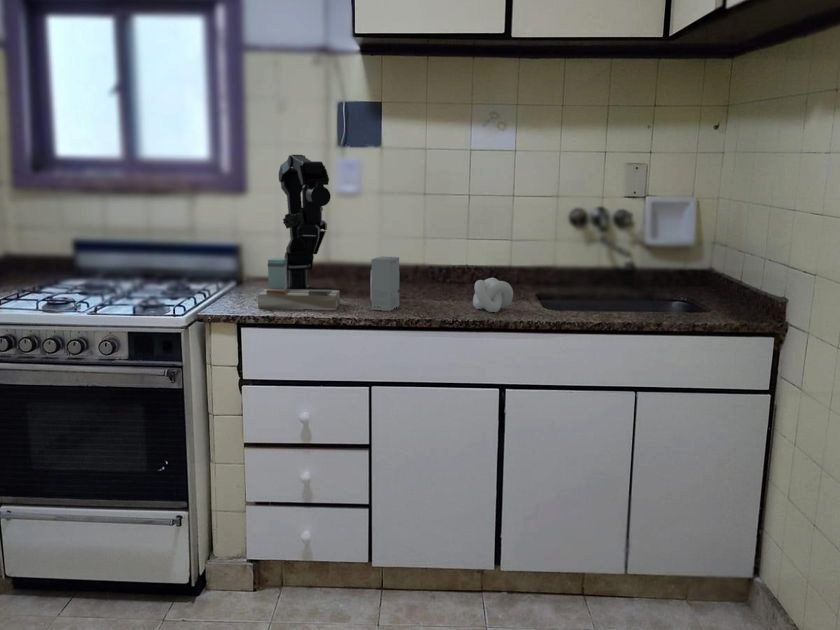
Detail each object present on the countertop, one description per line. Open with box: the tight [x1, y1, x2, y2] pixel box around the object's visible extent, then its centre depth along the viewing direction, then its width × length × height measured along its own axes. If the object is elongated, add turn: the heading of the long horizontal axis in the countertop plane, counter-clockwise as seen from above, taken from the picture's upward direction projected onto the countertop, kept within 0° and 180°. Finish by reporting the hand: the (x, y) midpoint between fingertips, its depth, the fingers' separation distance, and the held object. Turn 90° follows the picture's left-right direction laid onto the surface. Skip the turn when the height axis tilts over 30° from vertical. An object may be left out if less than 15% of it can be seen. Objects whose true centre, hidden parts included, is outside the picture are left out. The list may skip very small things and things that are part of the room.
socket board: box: [257, 288, 341, 311], centre depth 221 cm, size 10×22×5 cm, turn 89°
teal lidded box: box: [267, 257, 288, 289], centre depth 228 cm, size 5×5×12 cm
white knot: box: [472, 277, 514, 313], centre depth 219 cm, size 11×12×9 cm
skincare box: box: [371, 256, 400, 312], centre depth 219 cm, size 8×6×15 cm
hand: (312, 256), depth 231 cm, fingers open, 9 cm apart
